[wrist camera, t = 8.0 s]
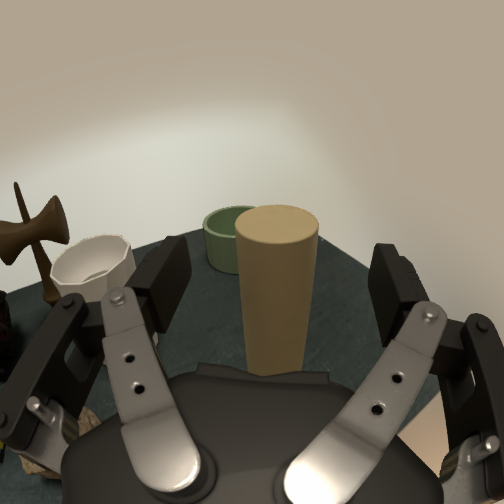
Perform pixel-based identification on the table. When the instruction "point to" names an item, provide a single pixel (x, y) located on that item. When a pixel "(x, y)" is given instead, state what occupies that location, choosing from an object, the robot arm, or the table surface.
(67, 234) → the kendama
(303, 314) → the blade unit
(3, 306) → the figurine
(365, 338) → the table surface
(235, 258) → the processor bowl
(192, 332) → the table surface
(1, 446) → the carton
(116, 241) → the vase
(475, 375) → the robot arm
